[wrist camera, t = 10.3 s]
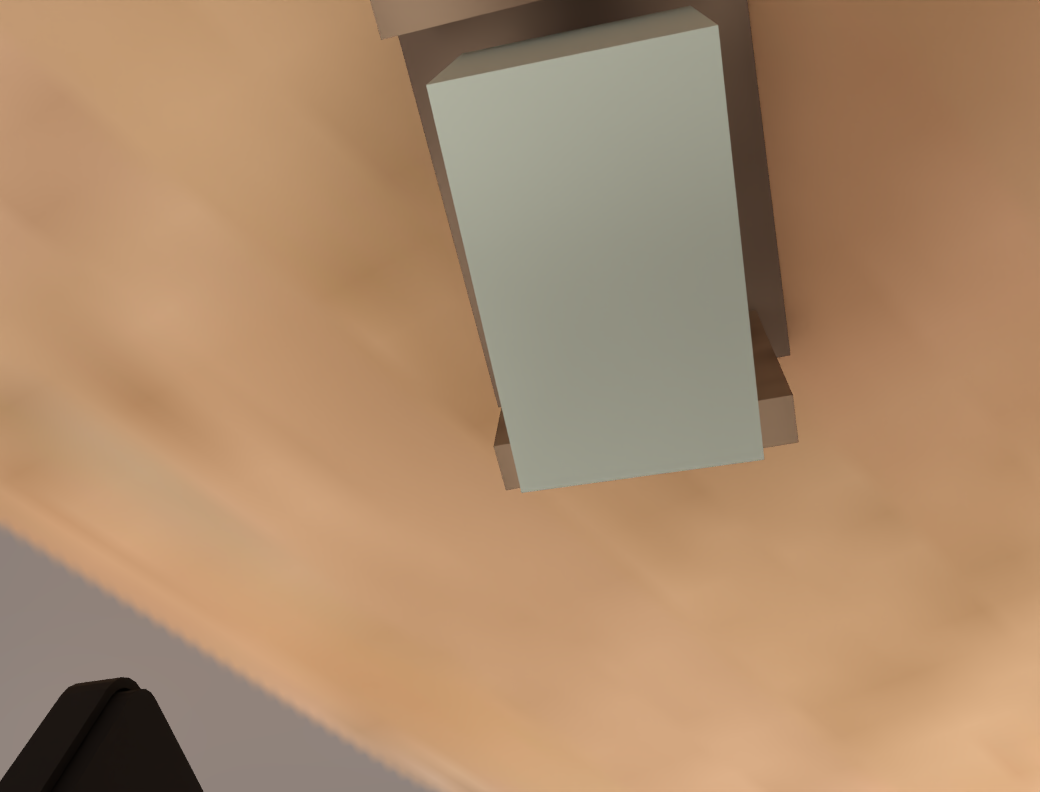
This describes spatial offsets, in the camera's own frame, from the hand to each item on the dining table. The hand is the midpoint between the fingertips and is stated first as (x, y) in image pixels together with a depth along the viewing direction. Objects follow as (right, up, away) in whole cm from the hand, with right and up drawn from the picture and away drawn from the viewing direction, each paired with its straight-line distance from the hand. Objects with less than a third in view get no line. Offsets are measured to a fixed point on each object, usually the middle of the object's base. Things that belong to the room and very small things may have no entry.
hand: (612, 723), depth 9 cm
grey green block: (+1, +8, +17) cm, 19 cm away
